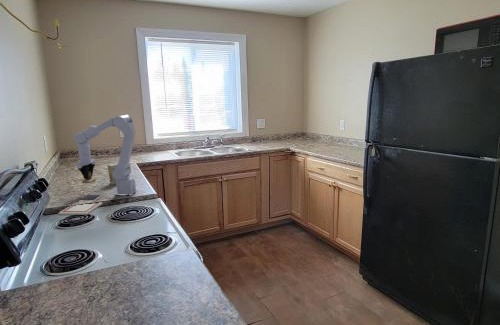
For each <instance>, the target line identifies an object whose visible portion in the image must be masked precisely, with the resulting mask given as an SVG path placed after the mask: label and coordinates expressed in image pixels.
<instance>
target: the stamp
mask: <svg viewBox="0 0 500 325" xmlns="http://www.w3.org/2000/svg"><path fill="white" fill-rule="evenodd" d="M88 175H89V178H88V179H84V178H83V179H82V180H81V184H91V183H93V182H95V181H96V178H95V177H91V171H88Z"/></svg>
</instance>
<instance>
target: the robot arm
mask: <svg viewBox="0 0 500 325" xmlns="http://www.w3.org/2000/svg"><path fill="white" fill-rule="evenodd" d="M111 127H115V128H116V129H118V130H119V131H120V132H121V133H122V134H123V138H122V144H121V148H120V154H119V159H118V162H117V163H118V164H117V165H116V168H115V170H114V171H113V177H114V178H115V179H116V184H115V185H116V191H117V192H116V193H118V194H132V195H134V194H135V193H136V192H137V187H136V180H135V179H134V178H132V177H130V175H131V172H132V169H131V163H130V161H131V157H132V156H131V155H132V150H133V146H134V141H135V137H136V130H135V125H134V120H133V118H132V117H131V116H130V115H129V114H122V115H115V116H114V117H111V118H109V119H107V120H105V121H104V122H102V123H101V124H98V125H89V126H88V128H86V129H82V130H81V132H77V133H75V135H73V140H74V141H75V143H76V145H77V151H78V157H79V161H78V162H77V163H78V164H75V166H76V169H78V170H79V171H80V173H81V174H82V177H83V180H84V179H88V178H89V175H88V171H91V178H93V173H94V168H95V166H96V158H92V155H91V149H90V147H91V146H90V141H91V140H92V139H94V138H96V137H99V136H100V135H101V132H103V131H105V130H107V129H109V128H111ZM134 192H135V193H134ZM133 193H134V194H133Z"/></svg>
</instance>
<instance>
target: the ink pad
mask: <svg viewBox="0 0 500 325" xmlns="http://www.w3.org/2000/svg"><path fill="white" fill-rule="evenodd" d="M99 196H102V195H101V194H87V195H85V196H83V197H81V198H80V199H79V200H94V199H96V198H97V197H99ZM102 197H103V196H102Z"/></svg>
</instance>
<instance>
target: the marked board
mask: <svg viewBox="0 0 500 325" xmlns="http://www.w3.org/2000/svg"><path fill="white" fill-rule="evenodd" d="M98 202H99V203H92V204H83V205H76V206H74V205H73V204H72V205H73V206H71V205H69V206H70V207H69V206H68V207H66V208H64V209H63V210H61V211H59V212H58V213H57V214H58V215H65V216H67V215H68V216H69V215H73V216H74V215H76V216H77V215H83V216H85V215H89V214H91V213H92V212H94V211H95V210H96V209H97V208H99V207H101V206H102V205H103V202H102V201H101V202H100V201H98Z"/></svg>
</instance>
